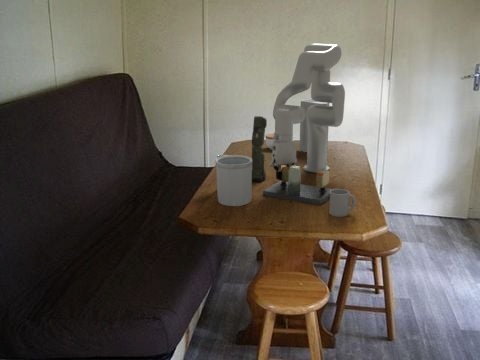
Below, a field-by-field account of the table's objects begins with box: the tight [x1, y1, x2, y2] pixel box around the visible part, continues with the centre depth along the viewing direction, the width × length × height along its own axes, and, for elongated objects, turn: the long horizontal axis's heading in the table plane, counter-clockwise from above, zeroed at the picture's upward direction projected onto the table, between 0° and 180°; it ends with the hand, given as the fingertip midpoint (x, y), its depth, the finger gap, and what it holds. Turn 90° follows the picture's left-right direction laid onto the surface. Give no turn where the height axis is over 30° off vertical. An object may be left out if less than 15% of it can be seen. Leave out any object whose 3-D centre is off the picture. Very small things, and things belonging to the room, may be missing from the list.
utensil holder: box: [214, 154, 253, 207], centre depth 227 cm, size 15×15×18 cm
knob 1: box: [280, 165, 289, 184], centre depth 243 cm, size 8×3×8 cm, turn 10°
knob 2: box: [315, 170, 331, 190], centre depth 234 cm, size 8×3×8 cm, turn 151°
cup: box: [328, 188, 357, 218], centre depth 213 cm, size 7×10×9 cm
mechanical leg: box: [251, 115, 267, 184], centre depth 257 cm, size 14×7×30 cm, turn 168°
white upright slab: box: [299, 98, 330, 153], centre depth 307 cm, size 19×15×28 cm
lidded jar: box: [264, 131, 275, 151], centre depth 316 cm, size 11×11×9 cm
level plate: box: [262, 164, 333, 206], centre depth 235 cm, size 16×26×13 cm, turn 61°
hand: (283, 178), depth 244 cm, fingers closed on knob 1, 4 cm apart
